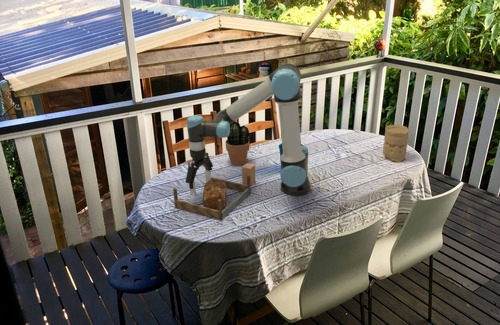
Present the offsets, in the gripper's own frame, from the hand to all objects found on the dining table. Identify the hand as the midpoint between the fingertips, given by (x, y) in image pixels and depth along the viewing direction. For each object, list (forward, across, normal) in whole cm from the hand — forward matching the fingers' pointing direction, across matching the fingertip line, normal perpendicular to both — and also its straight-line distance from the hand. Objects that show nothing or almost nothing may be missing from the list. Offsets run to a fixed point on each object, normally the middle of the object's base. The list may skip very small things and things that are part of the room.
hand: (201, 187), depth 221 cm
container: (+6, -86, +75) cm, 114 cm away
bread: (+5, +3, +10) cm, 11 cm away
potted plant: (+5, -42, -3) cm, 43 cm away
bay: (+5, +1, +8) cm, 9 cm away
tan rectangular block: (+5, -22, +15) cm, 27 cm away
